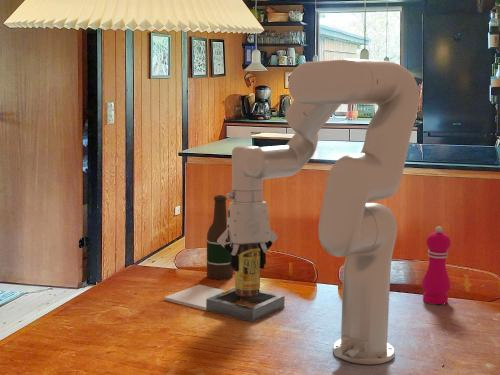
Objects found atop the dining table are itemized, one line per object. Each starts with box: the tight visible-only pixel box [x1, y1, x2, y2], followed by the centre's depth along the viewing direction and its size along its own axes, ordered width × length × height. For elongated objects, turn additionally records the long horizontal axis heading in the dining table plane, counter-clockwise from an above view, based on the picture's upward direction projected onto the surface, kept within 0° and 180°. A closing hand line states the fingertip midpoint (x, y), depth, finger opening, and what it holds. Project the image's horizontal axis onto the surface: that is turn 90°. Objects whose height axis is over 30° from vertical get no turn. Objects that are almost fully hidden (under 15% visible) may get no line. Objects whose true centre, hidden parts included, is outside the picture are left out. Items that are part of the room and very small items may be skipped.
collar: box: [205, 287, 286, 323], centre depth 163 cm, size 14×14×3 cm
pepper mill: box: [421, 225, 451, 305], centre depth 170 cm, size 7×7×20 cm
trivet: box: [163, 284, 226, 311], centre depth 172 cm, size 14×14×1 cm
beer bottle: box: [206, 194, 234, 281], centre depth 190 cm, size 8×8×24 cm
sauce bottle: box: [234, 243, 261, 297], centre depth 161 cm, size 7×6×20 cm
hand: (248, 268), depth 162 cm, fingers closed on sauce bottle, 6 cm apart
